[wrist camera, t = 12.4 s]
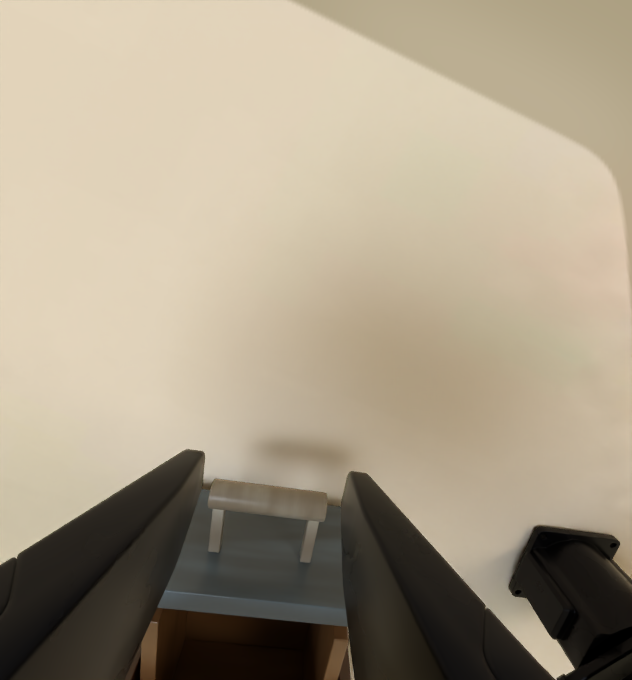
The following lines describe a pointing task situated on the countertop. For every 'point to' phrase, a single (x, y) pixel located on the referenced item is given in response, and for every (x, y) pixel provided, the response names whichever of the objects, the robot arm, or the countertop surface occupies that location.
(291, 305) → the countertop surface
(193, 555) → the drawer
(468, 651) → the robot arm
